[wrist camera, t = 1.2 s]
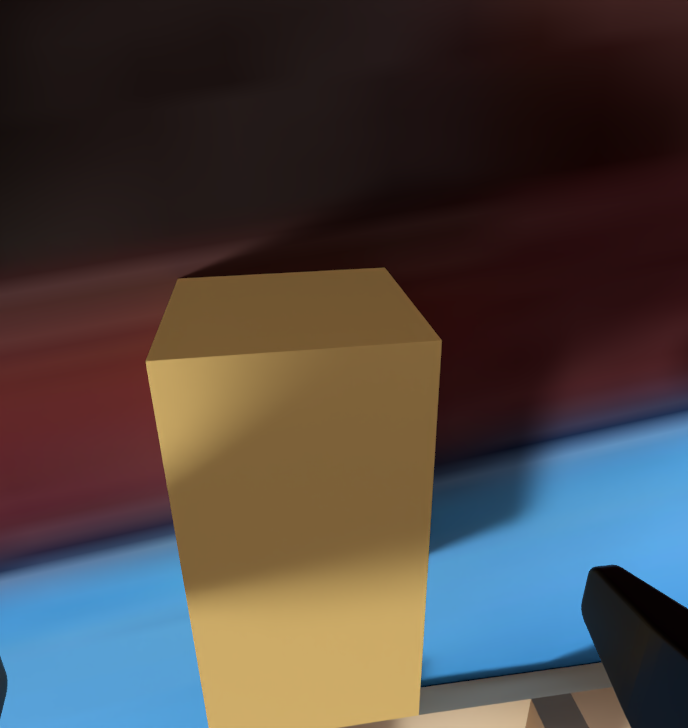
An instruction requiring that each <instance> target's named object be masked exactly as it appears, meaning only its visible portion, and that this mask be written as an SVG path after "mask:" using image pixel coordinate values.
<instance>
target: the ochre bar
mask: <svg viewBox="0 0 688 728" xmlns="http://www.w3.org/2000/svg"><path fill="white" fill-rule="evenodd" d="M441 347H442V340H441V339H440V337H439V336H438V335H437V334H436V332H435V331H434V330H433V328H432V327H431V326H430V325H429V323H428V322H427V321H426V319H425V318H424V317H423V316H422V314H421V313H420V312H419V311H418V309H417V308H416V307H415V305H414V304H413V303H412V302H411V300H410V299H409V298H408V297H407V295H406V294H405V293H404V291H403V290H402V289H401V288H400V286H399V285H398V284H397V282H396V281H395V280H394V279H393V277H392V276H391V275H390V274H389V272H388V271H387V270H386V268H366V269H348V270H329V271H310V272H292V273H273V274H254V275H236V276H217V277H198V278H180V279H178V280H177V283H176V285H175V288H174V290H173V293H172V295H171V298H170V300H169V303H168V306H167V308H166V311H165V313H164V316H163V318H162V321H161V323H160V326H159V328H158V331H157V334H156V336H155V339H154V341H153V344H152V346H151V349H150V351H149V354H148V357H147V359H146V366H147V372H148V378H149V384H150V390H151V395H152V401H153V407H154V413H155V418H156V424H157V430H158V436H159V442H160V447H161V453H162V459H163V465H164V471H165V476H166V482H167V488H168V494H169V500H170V505H171V511H172V517H173V523H174V529H175V534H176V540H177V546H178V552H179V558H180V563H181V569H182V575H183V581H184V587H185V592H186V598H187V604H188V610H189V616H190V621H191V627H192V633H193V639H194V644H195V650H196V656H197V662H198V668H199V673H200V679H201V685H202V691H203V697H204V702H205V708H206V714H207V720H208V726H209V728H339V727H346V726H352V725H359V724H365V723H372V722H379V721H385V720H392V719H398V718H405V717H411V716H418V715H419V702H420V686H421V670H422V654H423V637H424V621H425V605H426V589H427V573H428V557H429V541H430V525H431V508H432V492H433V476H434V460H435V444H436V428H437V412H438V396H439V379H440V363H441Z"/></svg>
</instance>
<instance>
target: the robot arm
mask: <svg viewBox="0 0 688 728" xmlns="http://www.w3.org/2000/svg"><path fill="white" fill-rule="evenodd" d="M581 610H582V615H583V619H584V622H585V624H586V626H587V629H588V631H589V633H590V636H591V638H592V640H593V643H594V645H595V647H596V650H597V652H598V655H599V657H600V659H601V662H602V664H603V666H604V669H605V671H606V673H607V676H608V678H609V680H610V683H611V685H612V687H613V690H614V692H615V695H616V697H617V699H618V701H619V704H620V706H621V708H622V710H623V712H624V715H625V717H626V719H627V720H628V722H629V724H630V726H631V728H688V609H687V608H686V607H684V606H683V605H681V604H679V603H678V602H676V601H675V600H673V599H671V598H670V597H668V596H667V595H665V594H663V593H662V592H660V591H659V590H657V589H655V588H654V587H652V586H650V585H649V584H647V583H646V582H644V581H642V580H641V579H639V578H638V577H636V576H634V575H633V574H631V573H630V572H628V571H626V570H625V569H623V568H621V567H619V566H617V565H606V566H597V567H593V568H592V569H591V570H590V571H589V573H588V577H587V582H586V586H585V590H584V595H583V599H582V604H581ZM6 692H7V675H6V671H5V669H4V666H3V663H2V660H1V657H0V717H1V713H2V709H3V705H4V701H5V697H6Z"/></svg>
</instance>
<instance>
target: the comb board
mask: <svg viewBox="0 0 688 728" xmlns="http://www.w3.org/2000/svg"><path fill="white" fill-rule="evenodd" d="M339 728H631V726H630V724H629V722H628V720H627V719H626V717H625V715H624V712H623V710H622V708H621V706H620V704H619V701H618V699H617V697H616V695H615V692H614V690H613V687H612V685H611V683H610V680H609V678H608V676H607V673H606V671H605V669H604V666H603V664H602V662H601V663H594V664H587V665H579V666H572V667H565V668H558V669H551V670H543V671H536V672H529V673H522V674H515V675H507V676H500V677H493V678H486V679H479V680H471V681H464V682H457V683H450V684H443V685H435V686H428V687H421V688H420V702H419V715H418V716H411V717H405V718H398V719H392V720H385V721H379V722H372V723H365V724H359V725H352V726H346V727H339Z"/></svg>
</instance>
